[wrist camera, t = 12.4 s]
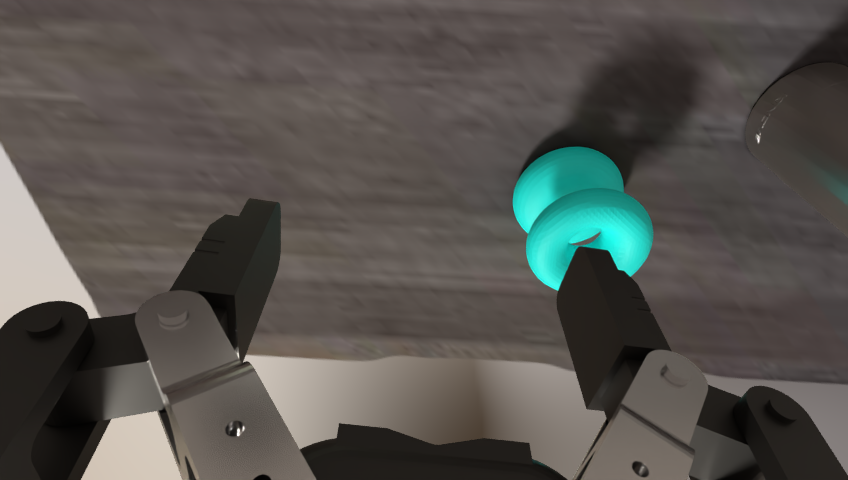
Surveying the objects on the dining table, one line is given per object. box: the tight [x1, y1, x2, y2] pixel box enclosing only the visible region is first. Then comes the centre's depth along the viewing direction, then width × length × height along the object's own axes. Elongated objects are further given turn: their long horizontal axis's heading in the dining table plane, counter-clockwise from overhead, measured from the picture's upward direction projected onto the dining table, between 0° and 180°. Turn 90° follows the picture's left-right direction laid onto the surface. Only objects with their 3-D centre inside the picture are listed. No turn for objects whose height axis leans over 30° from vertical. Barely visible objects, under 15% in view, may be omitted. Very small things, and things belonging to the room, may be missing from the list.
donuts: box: [513, 147, 653, 290], centre depth 43 cm, size 10×10×10 cm
